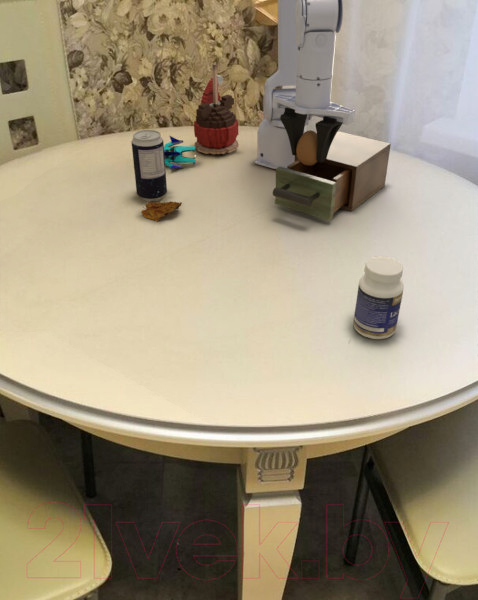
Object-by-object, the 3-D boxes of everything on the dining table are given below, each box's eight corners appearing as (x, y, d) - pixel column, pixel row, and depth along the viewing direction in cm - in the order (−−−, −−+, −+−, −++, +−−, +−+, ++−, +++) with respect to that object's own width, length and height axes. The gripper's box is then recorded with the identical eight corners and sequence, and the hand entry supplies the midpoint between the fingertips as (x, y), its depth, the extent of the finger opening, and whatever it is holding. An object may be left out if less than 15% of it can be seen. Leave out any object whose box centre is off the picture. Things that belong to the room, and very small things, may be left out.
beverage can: (172, 192, 118) (168, 131, 111) (159, 204, 114) (154, 141, 107) (145, 188, 119) (139, 127, 113) (131, 200, 115) (125, 138, 108)
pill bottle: (395, 343, 81) (407, 279, 75) (351, 338, 81) (360, 274, 76) (395, 317, 85) (407, 255, 79) (354, 312, 86) (362, 251, 80)
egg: (290, 165, 106) (292, 131, 103) (304, 157, 109) (306, 124, 106) (312, 172, 104) (315, 137, 101) (326, 163, 107) (329, 129, 103)
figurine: (197, 139, 129) (140, 140, 130) (193, 135, 123) (134, 135, 124) (197, 171, 129) (141, 172, 130) (193, 168, 124) (134, 168, 124)
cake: (217, 161, 130) (214, 73, 120) (184, 151, 135) (179, 66, 125) (248, 146, 137) (248, 62, 127) (216, 137, 142) (214, 55, 132)
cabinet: (351, 211, 111) (356, 166, 106) (292, 193, 117) (294, 150, 112) (384, 186, 120) (391, 143, 115) (328, 170, 126) (331, 129, 121)
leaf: (158, 202, 115) (156, 194, 114) (188, 206, 112) (186, 198, 111) (137, 219, 111) (135, 211, 110) (168, 224, 107) (166, 216, 106)
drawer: (317, 230, 104) (320, 193, 100) (261, 212, 109) (262, 176, 105) (363, 195, 115) (367, 161, 111) (310, 180, 120) (312, 147, 116)
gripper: (262, 73, 99) (260, 154, 107) (342, 89, 92) (334, 174, 100) (286, 64, 104) (283, 142, 111) (364, 78, 96) (355, 161, 104)
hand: (308, 156), depth 106 cm, fingers closed on egg, 4 cm apart
